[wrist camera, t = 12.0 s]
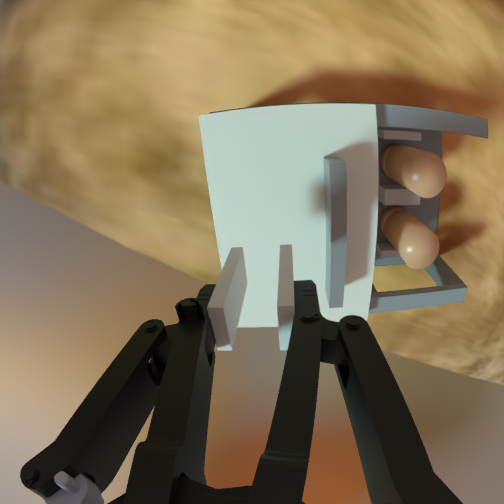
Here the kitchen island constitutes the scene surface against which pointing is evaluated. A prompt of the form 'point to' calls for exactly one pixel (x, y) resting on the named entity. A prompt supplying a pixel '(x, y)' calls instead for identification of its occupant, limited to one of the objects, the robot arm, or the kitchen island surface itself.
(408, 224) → the seated rounded capsule
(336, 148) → the lid
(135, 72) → the kitchen island surface
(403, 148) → the pink rounded capsule
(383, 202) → the housing
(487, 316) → the kitchen island surface
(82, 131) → the kitchen island surface
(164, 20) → the kitchen island surface
